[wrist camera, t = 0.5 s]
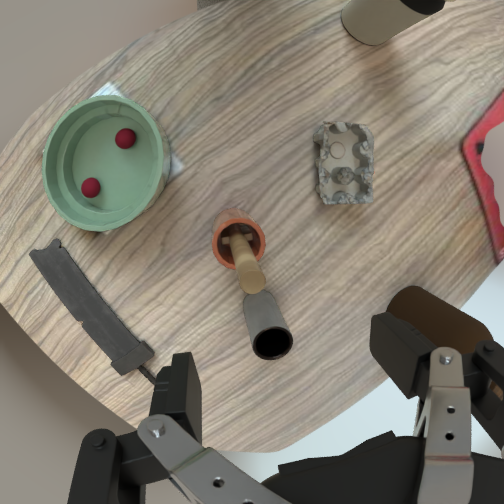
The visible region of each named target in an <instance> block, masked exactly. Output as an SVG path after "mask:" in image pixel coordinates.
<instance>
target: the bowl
mask: <svg viewBox="0 0 504 504" xmlns="http://www.w3.org/2000/svg"><path fill="white" fill-rule="evenodd" d="M123 128H129V129H131V130H133V131H134V133H135V135H136V141H135V143H134V145H133V146H132V147H130V148H128V149H121V148H119V147H118V146H117V145H116V143H115V136H116V134H117V133H118V131H119V130H121V129H123ZM170 163H171V155H170V147H169V142H168V139H167V137H166V135H165V132H164V130H163V128H162V127H161V125H160V124H159V123H158V122H157V120H156V119H155V118H154V117H153V116H152V115H151V114H150V113H149V112H147V111H146V110H145V109H144V108H143V107H141V106H140V105H138V104H137V103H135V102H134V101H132V100H130V99H127V98H124V97H120V96H117V95H101V96H96V97H93V98H90V99H87V100H84V101H82V102H80V103H79V104H77V105H75V106H74V107H72V108H71V109H69V110H68V111H67V112H66V113H65V114H64V116H63V117H62V118H61V119H60V120H59V121H58V122H57V123H56V125H55V127H54V128H53V130H52V132H51V134H50V135H49V137H48V140H47V143H46V146H45V149H44V152H43V161H42V178H43V185H44V188H45V191H46V194H47V196H48V199H49V201H50V203H51V204H52V206H53V207H54V209H55V210H56V211H57V213H58V214H59V215H60V216H61V217H62V218H64V219H65V220H66V221H67V222H69V223H70V224H72V225H74V226H76V227H79V228H81V229H84V230H89V231H99V232H100V231H106V230H111V229H116V228H118V227H120V226H122V225H124V224H126V223H128V222H130V221H132V220H133V219H135V218H136V217H138V216H139V215H141V214H142V213H144V212H145V211H146V210H147V209H148V208H149V207H150V206H152V205H153V204H154V203H155V201H156V200H157V198H158V197H159V195H160V194H161V193H162V191H163V189H164V187H165V184H166V181H167V179H168V176H169V171H170ZM90 177H92V178H96V179H97V180H98V181H99V183H100V186H101V189H100V192H99V194H98V195H97V196H96V197H94V198H87V197H85V196H84V195H83V194H82V192H81V185H82V183H83V181H84V180H86V179H87V178H90Z"/></svg>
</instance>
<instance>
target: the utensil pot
mask: <svg viewBox="0 0 504 504" xmlns="http://www.w3.org/2000/svg"><path fill="white" fill-rule="evenodd" d="M233 223H237V224H238V225H239V226H243V225H247V226H248V228H249V230H250V231H251V233H252V238H253V240H249V241H248V243H249V245H250V248H251V250H252V252H253V254H254V256H255V258H256V260H257V262H258V261H259V259H260V258H261V257H262V256H263V253H264V250H265V246H266V243H265V236H264V233H263V232H262V230H261V228H260V226H259V225H258V224H257V223H256V222H255V220H254V219H253V218H252V217H251V216H250V215H249V214H248V213H247V212H245V211H244V210H241V209H238V208H230V209H226V210H224V211H222V212H221V213H219V214H218V215H217V217H216V218H215V220H214V222H213V226H212V248H213V253H214V255H215V257H216V258H217V260H218V261H219V262H220V263H221V264H222V265H224V266H225V267H227V268H230V269H235V270H236V267H235V263H234V259H233V255H232V251H231V247H230V243H229V244H222V241H221V234H220V233H221V232H222V230H223V229H224V228H227V227H228V226H229V225H230V224H233Z"/></svg>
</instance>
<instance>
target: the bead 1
mask: <svg viewBox="0 0 504 504" xmlns="http://www.w3.org/2000/svg"><path fill="white" fill-rule="evenodd" d="M100 189H101V186H100V183H99V181H98V180H97V179H96V178H92V177H90V178H87V179H86V180H84V181H83V183H82V185H81V192H82V194H83V195H84V196H85V197H87V198H94V197H96V196H97V195H98V194H99V192H100Z"/></svg>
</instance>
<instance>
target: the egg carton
mask: <svg viewBox="0 0 504 504" xmlns="http://www.w3.org/2000/svg"><path fill="white" fill-rule="evenodd" d="M323 123H324V125H321V128H320V130H319V132H317V133H315V134H314V138H313V139H314V142H316V143H318V144H320V146H321V149H320V152H321V153H320V157H319V158H317V159H315V162H316V167H317V168H318V169H319V180H320V183H319V184H317V185H316V192H317V193H320V197H321V198H322V199H323V204H364V203H372V202H373V188H372V182H373V179H372V176H373V174H374V168H373V160H374V158H373V148H374V137H373V135H372V133H371V131H370V130H369V129H368V127H367V126H366V125H363V124H354V123H345V122H323Z"/></svg>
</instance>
